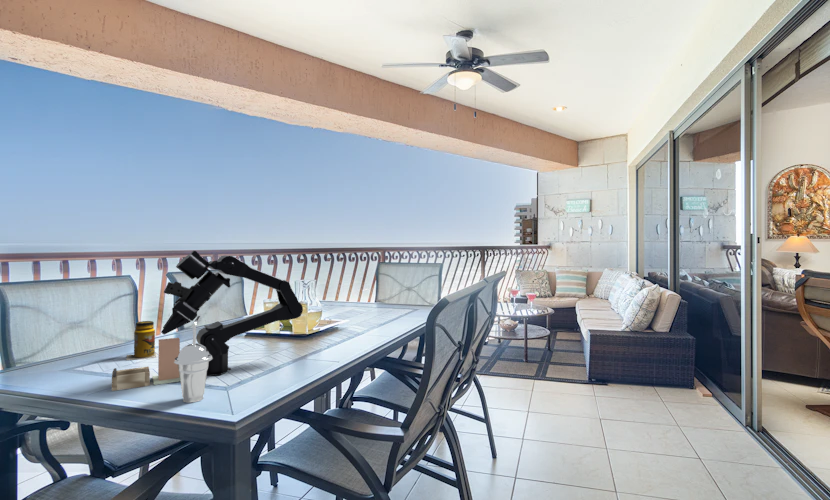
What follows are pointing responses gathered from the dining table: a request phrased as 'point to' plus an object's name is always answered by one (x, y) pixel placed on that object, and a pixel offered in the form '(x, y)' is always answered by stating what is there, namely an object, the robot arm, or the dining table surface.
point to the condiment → (143, 341)
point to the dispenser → (130, 378)
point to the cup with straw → (193, 369)
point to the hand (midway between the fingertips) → (163, 331)
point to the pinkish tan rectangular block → (168, 358)
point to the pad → (157, 382)
